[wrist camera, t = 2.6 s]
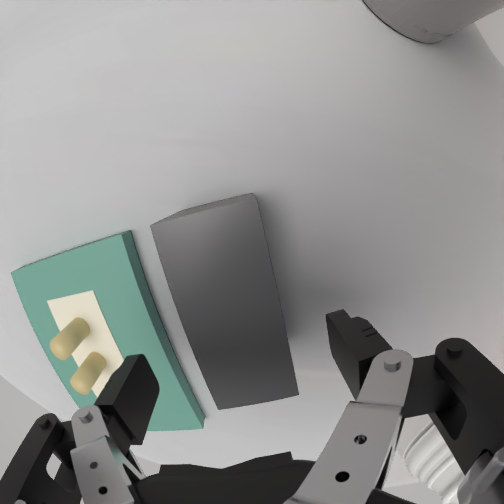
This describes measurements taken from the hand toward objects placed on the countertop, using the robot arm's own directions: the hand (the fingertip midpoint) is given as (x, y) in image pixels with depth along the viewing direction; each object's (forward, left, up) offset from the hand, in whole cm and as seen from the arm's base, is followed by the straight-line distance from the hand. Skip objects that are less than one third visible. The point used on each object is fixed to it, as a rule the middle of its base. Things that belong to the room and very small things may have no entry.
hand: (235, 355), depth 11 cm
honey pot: (+23, +19, -8) cm, 31 cm away
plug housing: (-1, 0, -8) cm, 8 cm away
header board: (+3, -12, -8) cm, 14 cm away
